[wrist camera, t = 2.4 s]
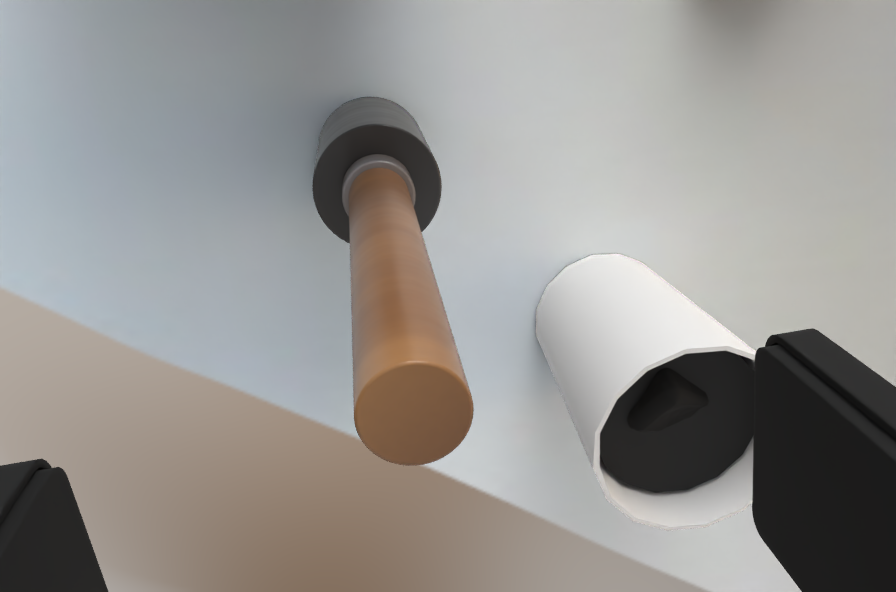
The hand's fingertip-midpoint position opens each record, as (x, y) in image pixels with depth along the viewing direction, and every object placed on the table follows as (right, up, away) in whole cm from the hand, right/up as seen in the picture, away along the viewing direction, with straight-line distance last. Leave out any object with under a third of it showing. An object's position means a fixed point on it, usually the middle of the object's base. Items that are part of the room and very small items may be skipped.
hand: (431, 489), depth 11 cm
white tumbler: (+7, +2, +24) cm, 25 cm away
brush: (-3, +8, +20) cm, 21 cm away
